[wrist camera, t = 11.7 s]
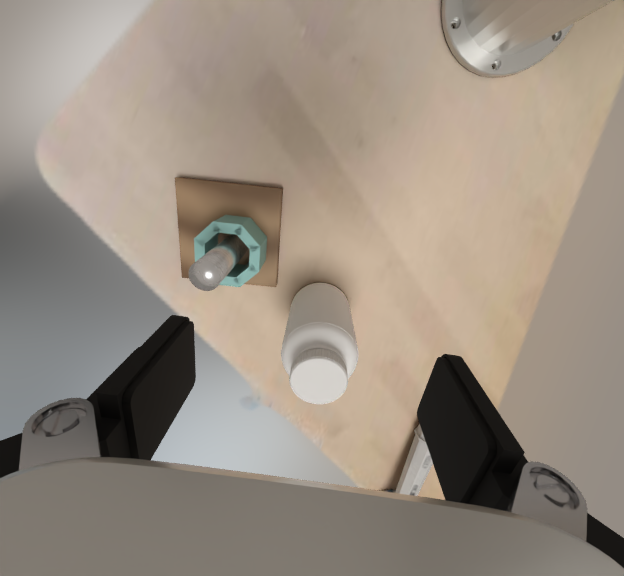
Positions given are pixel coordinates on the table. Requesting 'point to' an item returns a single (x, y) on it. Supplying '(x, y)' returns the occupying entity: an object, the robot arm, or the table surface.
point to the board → (229, 201)
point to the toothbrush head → (415, 466)
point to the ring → (247, 233)
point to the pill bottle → (319, 344)
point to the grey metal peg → (217, 263)
